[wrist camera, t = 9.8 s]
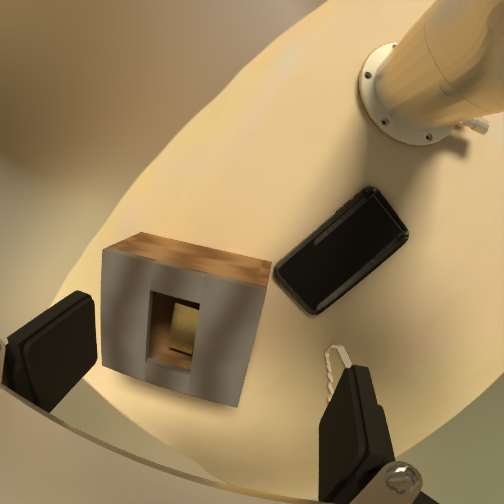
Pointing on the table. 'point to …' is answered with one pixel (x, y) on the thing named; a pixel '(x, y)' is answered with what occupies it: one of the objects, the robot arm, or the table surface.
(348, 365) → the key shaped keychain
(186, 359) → the box
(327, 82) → the table surface
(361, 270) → the phone
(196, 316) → the wooden block
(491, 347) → the table surface
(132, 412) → the table surface
